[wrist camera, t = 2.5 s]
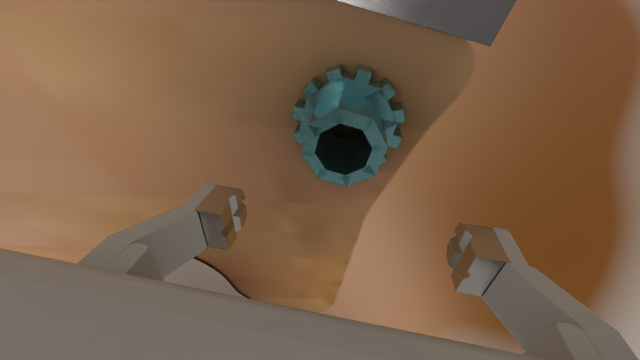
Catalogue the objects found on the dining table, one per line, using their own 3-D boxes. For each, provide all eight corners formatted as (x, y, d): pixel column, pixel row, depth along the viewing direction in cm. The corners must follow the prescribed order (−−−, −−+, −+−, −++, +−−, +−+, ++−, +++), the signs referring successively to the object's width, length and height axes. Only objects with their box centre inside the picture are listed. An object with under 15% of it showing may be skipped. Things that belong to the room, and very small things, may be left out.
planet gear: (378, 175, 22) (381, 215, 18) (288, 149, 22) (271, 183, 18) (421, 83, 18) (437, 107, 14) (308, 49, 18) (291, 64, 13)
